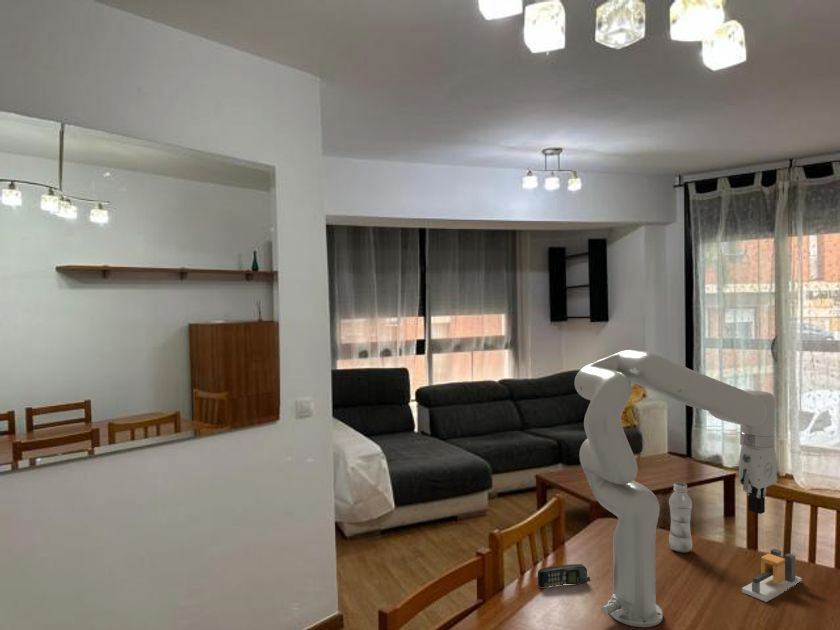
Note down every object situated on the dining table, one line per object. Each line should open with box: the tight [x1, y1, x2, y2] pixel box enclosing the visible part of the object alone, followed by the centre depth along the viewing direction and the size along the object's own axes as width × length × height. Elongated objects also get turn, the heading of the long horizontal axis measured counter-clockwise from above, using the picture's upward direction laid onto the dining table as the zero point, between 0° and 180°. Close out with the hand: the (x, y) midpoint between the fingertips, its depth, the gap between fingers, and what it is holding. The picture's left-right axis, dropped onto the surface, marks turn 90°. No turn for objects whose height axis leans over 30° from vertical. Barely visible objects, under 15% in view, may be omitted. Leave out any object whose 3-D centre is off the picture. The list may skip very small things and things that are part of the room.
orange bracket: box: [760, 553, 785, 584], centre depth 149 cm, size 4×4×6 cm
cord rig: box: [741, 548, 802, 603], centre depth 149 cm, size 18×6×8 cm, turn 122°
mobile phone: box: [537, 563, 591, 588], centre depth 152 cm, size 5×3×15 cm
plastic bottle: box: [668, 481, 693, 553], centre depth 171 cm, size 6×7×20 cm
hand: (756, 511), depth 145 cm, fingers closed
